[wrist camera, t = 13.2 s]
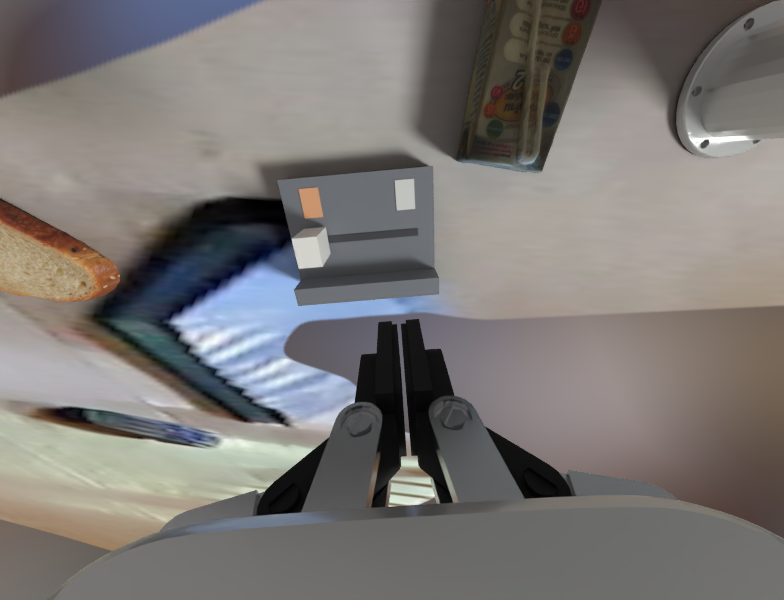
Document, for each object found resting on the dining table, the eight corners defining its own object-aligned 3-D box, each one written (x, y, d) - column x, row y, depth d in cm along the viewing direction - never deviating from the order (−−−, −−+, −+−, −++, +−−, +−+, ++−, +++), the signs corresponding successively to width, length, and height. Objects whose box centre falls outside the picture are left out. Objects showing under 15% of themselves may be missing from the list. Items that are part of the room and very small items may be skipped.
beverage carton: (450, 162, 31) (465, 162, 25) (502, -97, 23) (544, -191, 17) (518, 173, 32) (549, 175, 26) (593, -76, 23) (664, -159, 17)
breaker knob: (325, 226, 30) (316, 236, 26) (330, 253, 31) (322, 266, 27) (303, 228, 30) (291, 238, 26) (309, 255, 31) (298, 268, 27)
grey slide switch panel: (428, 165, 31) (438, 166, 25) (430, 274, 36) (439, 294, 31) (286, 178, 31) (265, 181, 26) (310, 285, 37) (298, 305, 31)
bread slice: (134, 286, 37) (109, 298, 33) (20, 318, 38) (-15, 333, 35) (20, 134, 29) (-28, 130, 25) (-117, 183, 30) (-179, 185, 27)
